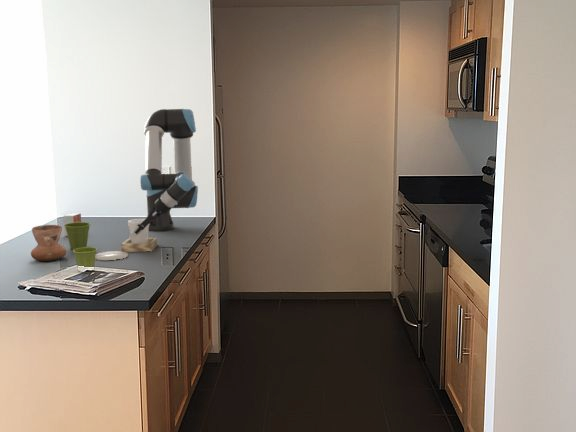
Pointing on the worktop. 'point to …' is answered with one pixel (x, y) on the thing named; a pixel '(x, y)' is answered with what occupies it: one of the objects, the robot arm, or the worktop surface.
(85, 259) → the plant pot
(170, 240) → the worktop surface
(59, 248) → the ceramic jug
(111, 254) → the disc
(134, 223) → the foam cup
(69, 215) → the small box
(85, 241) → the plant pot
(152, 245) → the holder
